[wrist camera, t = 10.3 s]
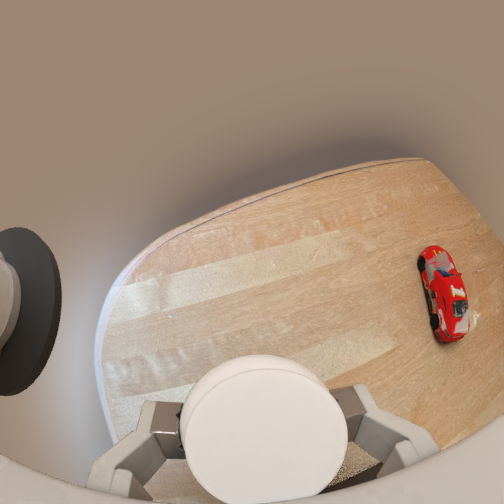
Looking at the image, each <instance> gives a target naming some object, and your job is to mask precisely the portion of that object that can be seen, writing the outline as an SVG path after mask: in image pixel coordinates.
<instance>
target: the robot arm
mask: <svg viewBox="0 0 504 504" xmlns="http://www.w3.org/2000/svg"><path fill="white" fill-rule="evenodd" d="M20 305H21V285H20V280H19V276H18V274H17V272H16V270H15V269H14V267H13V266H11V265H10V264H9V263H7V262H6V261H5V259H4V256H3V254H2V252H0V353H1V350H2V348H3V346H4V345H5V343H6V342H7V341H8V339H9V338H10V336H11V334H12V332H13V330H14V328H15V325H16V323H17V319H18V316H19V311H20ZM329 392H330V394H331V395H332V396H333V397H334V399H335V400H336V401H337V402H338V404H339V406H340V408H341V410H342V412H343V414H344V417H345V420H346V424H347V431H348V442H352V441H354V443H355V444H357V445H358V446H359V447H361V448H362V449H363V450H365V451H366V452H368V453H369V454H370V455H372V456H373V457H374V458H376V459H377V460H379V461H380V462H382V463H383V464H384V465H383V466H382V468H381V469H380V471H379V472H378V474H377V475H376V476H377V479H374V480H371V481H368V482H365V483H362V484H358V485H355V486H352V487H348V488H344V489H341V490H337V491H333V492H328V493H324V494H319V495H315V496H310V497H304V498H299V499H292V500H286V501H278V502H270V503H260V504H504V412H503V413H502V414H500V415H499V416H498V417H496V418H495V419H493V420H492V421H490V422H489V423H487V424H486V425H485V426H483V427H481V428H480V429H478V430H477V431H475V432H474V433H472V434H470V435H469V436H467V437H465V438H464V439H462V440H460V441H459V442H457V443H455V444H453V445H452V446H450V447H448V448H446V449H444V450H442V451H441V450H440V448H439V447H438V445H437V443H436V442H435V440H434V439H433V437H432V436H431V434H430V433H429V431H428V430H426V429H424V428H422V427H420V426H418V425H416V424H413V423H411V422H409V421H407V420H405V419H403V418H401V417H399V416H397V415H395V414H393V413H391V412H389V411H387V410H385V409H379V407H378V405H377V404H376V402H375V400H374V399H373V397H372V395H371V394H370V392H369V390H368V389H367V387H366V385H365V384H364V383H360V384H355V385H351V386H346V387H341V388H336V389H331V390H329ZM183 405H184V403H179V402H160V401H145V402H144V403H143V406H142V410H141V413H140V417H139V421H138V424H137V428H136V431H132V432H130V433H129V434H128V435H127V436H126V437H124V438H123V439H122V440H121V441H119V442H118V443H117V444H116V445H114V446H113V447H112V448H111V449H109V450H108V451H107V452H106V453H104V454H103V455H102V456H100V457H99V458H98V459H96V460H95V461H94V462H93V464H92V467H91V470H90V473H89V476H88V480H87V483H86V486H85V487H82V486H78V485H75V484H72V483H69V482H66V481H63V480H60V479H57V478H54V477H52V476H49V475H46V474H44V473H41V472H39V471H36V470H34V469H32V468H29V467H27V466H25V465H23V464H21V463H19V462H16V461H14V460H12V459H10V458H8V457H6V456H4V455H3V454H1V453H0V504H171V503H161V502H153V498H152V497H151V496H150V495H149V494H148V492H147V491H146V490H145V489H144V488H143V486H144V485H145V484H146V483H147V482H148V480H149V479H150V478H151V477H152V476H153V475H154V474H155V472H156V471H157V470H158V469H159V468H160V467H161V466H162V464H163V463H164V462H165V461H166V459H186V455H185V451H184V448H183V445H182V441H181V436H180V417H181V412H182V408H183Z"/></svg>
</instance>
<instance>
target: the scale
mask: <svg viewBox="0 0 504 504" xmlns="http://www.w3.org/2000/svg"><path fill="white" fill-rule="evenodd" d="M383 465H384V464H383V463H382V462H381V463H379V464H377V465H375V466H374V467H372V468H370V469H368V470H366V471H364V472H362V473H360V474H358V475H356V476H353V477H351V478H349V479H347V480H345V481H343V482H340V483H338V484H336V485H333V486H331V487H328V488H326V489H323V490H322V491H321V492H320V493H319V494H324V493H328V492H333V491H337V490H341V489H344V488H348V487H352V486H355V485H358V484H362V483H365V482H368V481H371V480H374V479H377V476H376V475H377V474H378V472H379V471H380V469H381V468H382V466H383ZM319 494H317V495H319Z"/></svg>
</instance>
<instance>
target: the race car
mask: <svg viewBox="0 0 504 504" xmlns="http://www.w3.org/2000/svg"><path fill="white" fill-rule="evenodd" d="M418 268H419V270H420V271H424V272H423V273H421V274H422V278H423V282H424V286H425V290H426V295H427V299H428V304H429V309H430V314H433V315H432V317H431V320H430V322H431V326H432V328H433V329H437V330H435V331H434V332H435V335H436V337H437V338H438V340H439V341H440V342H442V343H443V342H444V343H450V342H453V341H457V340H459V339H461V338H463V337H464V335H465V334H467V333H468V331H469V326H470V324H469V310H468V301H467V295H466V291H465V287H464V284H463V281H462V278H461V276H460V275H462V274H461V273H458V272H457V270H456V268H455V266H454V263H453V261H452V258H451V256H450V255H449V253H448V252H447V251H446V250H444V249H443V248H441V247H440V246H429V247H427V248H426V249H425V250H424V251H423V252H422V253H421V254H420V256H419V260H418Z"/></svg>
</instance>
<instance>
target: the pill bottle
mask: <svg viewBox="0 0 504 504" xmlns="http://www.w3.org/2000/svg"><path fill="white" fill-rule="evenodd" d="M180 436H181V441H182V445H183V448H184V451H185V455H186V459H187V462H188V465H189V467H190V470H191V472H192V473H193V475H194V477H195V478H196V480H197V481H198V482H199V483H200V485H201V486H202V487H203V488H204V489H205V490H206V491H208V492H209V493H210V494H211V495H212V496H214V497H215V498H217V499H218V500H220V501H222V502H224V503H226V504H260V503H270V502H278V501H286V500H292V499H299V498H304V497H310V496H315V495H317V494H319V493H320V492H321V491H322V490H323V489H324V488H325V487H326V486H327V485H328V484H329V483H330V482H331V481H332V480H333V478H334V477H335V475H336V474H337V473H338V471H339V469H340V467H341V465H342V463H343V460H344V458H345V454H346V451H347V443H348V431H347V424H346V420H345V417H344V414H343V412H342V410H341V408H340V406H339V404H338V402H337V401H336V400H335V399H334V397H333V396H332V395H331V394H330V392H329V390H328V389H327V387H326V386H325V384H324V383H323V382H322V381H321V380H320V379H319V377H317V376H316V375H315V374H314V373H313V372H312V371H310V370H309V369H308V368H306V367H304V366H303V365H301V364H299V363H297V362H295V361H292V360H290V359H287V358H284V357H280V356H274V355H264V354H257V355H247V356H242V357H238V358H234V359H231V360H229V361H226V362H224V363H222V364H220V365H218V366H216V367H214V368H213V369H211V370H210V371H209V372H208V373H206V374H205V375H204V376H203V377H202V378H201V379H200V380H199V381H198V382H197V383H196V384H195V385H194V387H193V388H192V389H191V391H190V393H189V394H188V396H187V398H186V400H185V402H184V405H183V408H182V412H181V417H180Z"/></svg>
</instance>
